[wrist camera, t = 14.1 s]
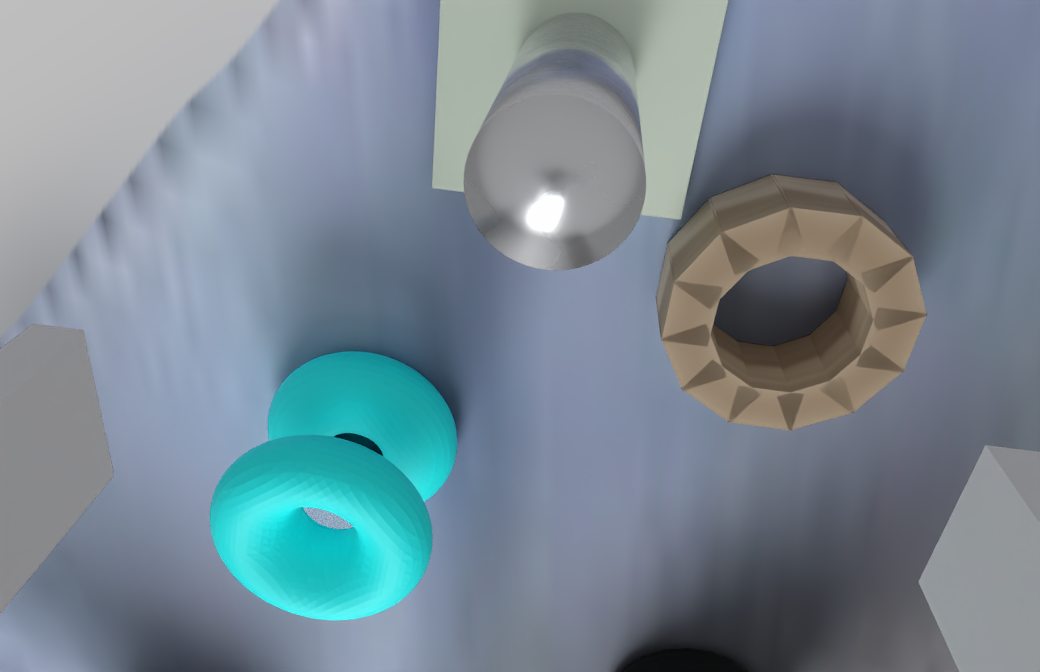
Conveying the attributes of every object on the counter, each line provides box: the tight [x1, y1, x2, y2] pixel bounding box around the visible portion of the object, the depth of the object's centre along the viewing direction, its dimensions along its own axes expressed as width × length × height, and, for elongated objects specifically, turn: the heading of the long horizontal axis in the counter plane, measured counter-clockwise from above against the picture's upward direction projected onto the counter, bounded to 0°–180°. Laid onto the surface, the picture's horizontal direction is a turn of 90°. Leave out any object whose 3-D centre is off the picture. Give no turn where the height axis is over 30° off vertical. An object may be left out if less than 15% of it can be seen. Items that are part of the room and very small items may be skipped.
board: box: [432, 0, 728, 220], centre depth 32 cm, size 11×11×1 cm
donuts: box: [210, 351, 457, 620], centre depth 39 cm, size 10×10×10 cm
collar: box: [656, 174, 927, 430], centre depth 35 cm, size 10×10×4 cm
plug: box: [464, 13, 646, 270], centre depth 26 cm, size 5×5×13 cm
